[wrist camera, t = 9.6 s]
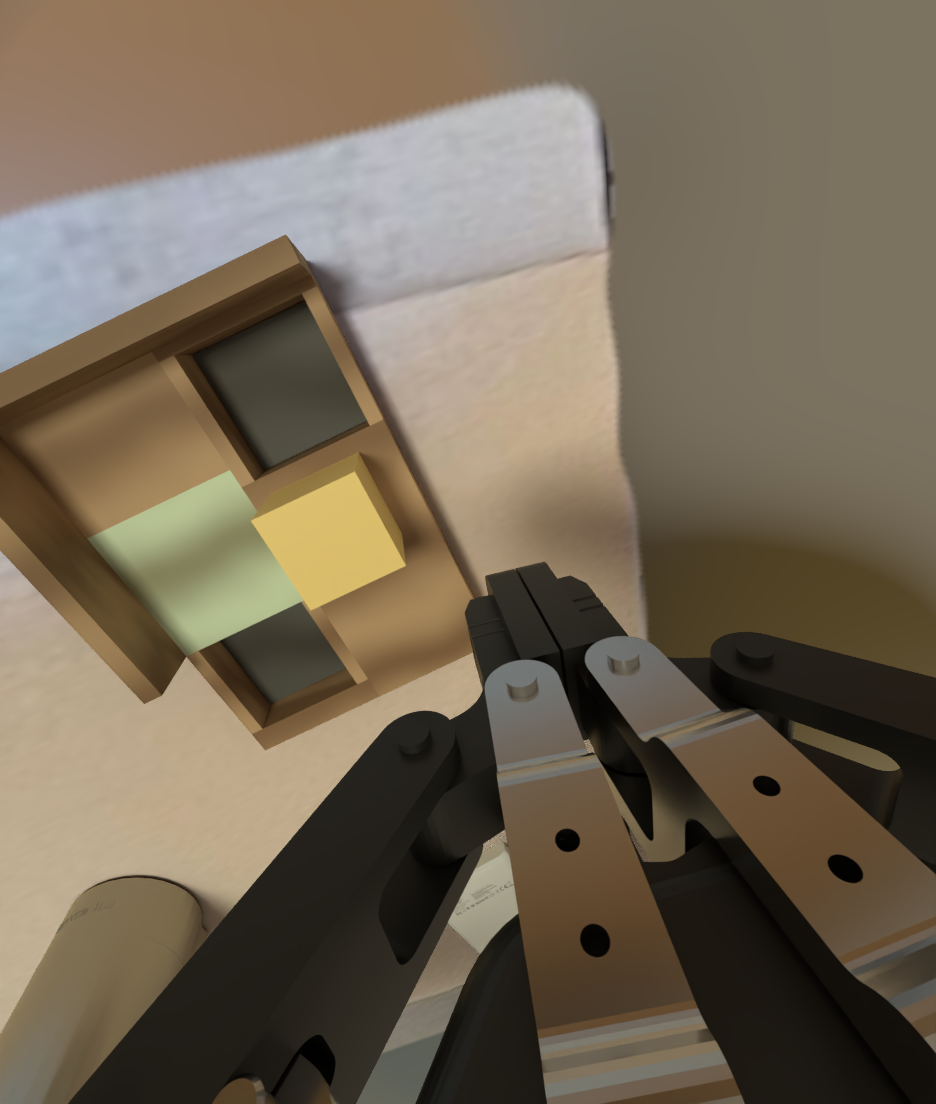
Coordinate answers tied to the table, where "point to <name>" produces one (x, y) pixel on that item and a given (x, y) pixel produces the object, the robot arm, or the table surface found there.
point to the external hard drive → (486, 899)
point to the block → (331, 531)
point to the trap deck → (218, 499)
